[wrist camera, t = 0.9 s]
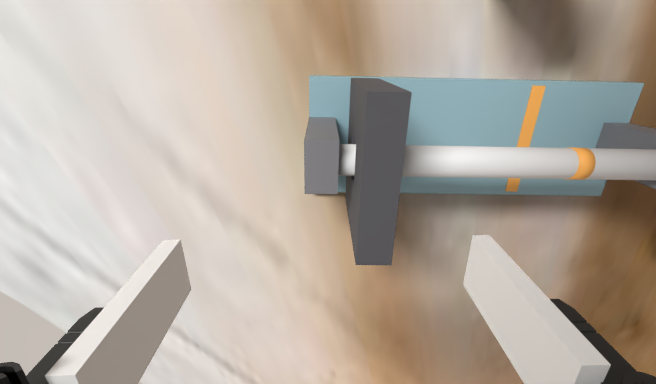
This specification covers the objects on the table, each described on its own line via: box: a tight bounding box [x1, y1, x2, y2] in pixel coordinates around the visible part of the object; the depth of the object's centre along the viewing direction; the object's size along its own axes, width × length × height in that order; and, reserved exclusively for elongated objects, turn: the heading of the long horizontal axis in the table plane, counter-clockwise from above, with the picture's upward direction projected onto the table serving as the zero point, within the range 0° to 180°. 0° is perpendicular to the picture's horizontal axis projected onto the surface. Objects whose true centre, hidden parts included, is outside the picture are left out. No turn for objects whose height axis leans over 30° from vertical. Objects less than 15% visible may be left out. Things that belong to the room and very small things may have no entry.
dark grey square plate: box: [345, 78, 412, 265], centre depth 31 cm, size 3×14×14 cm, turn 179°
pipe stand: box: [304, 75, 656, 196], centre depth 34 cm, size 38×14×12 cm, turn 89°
